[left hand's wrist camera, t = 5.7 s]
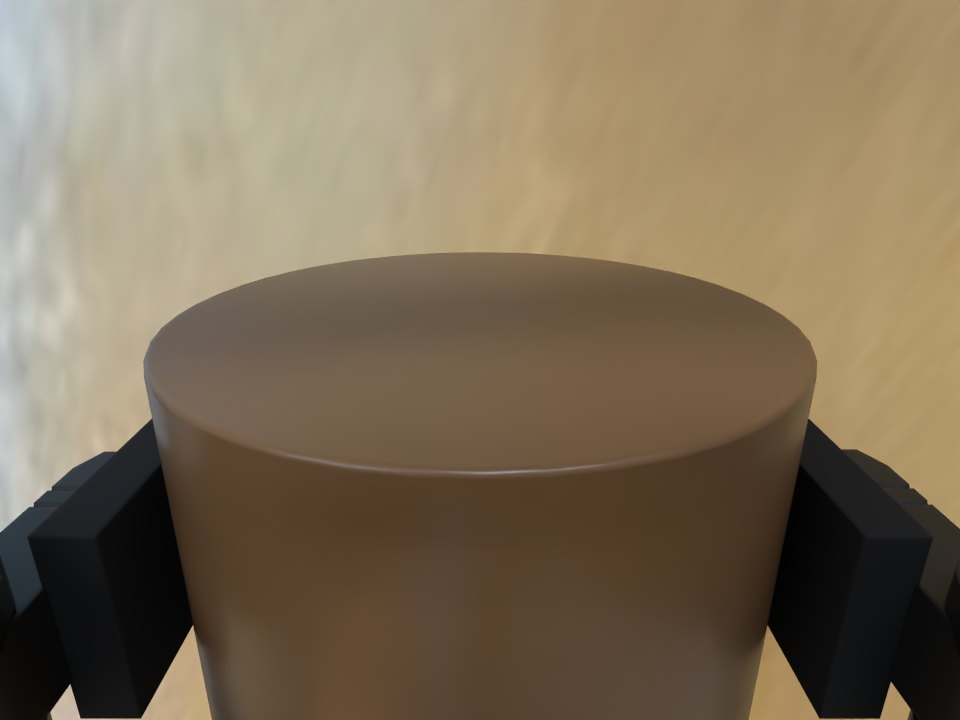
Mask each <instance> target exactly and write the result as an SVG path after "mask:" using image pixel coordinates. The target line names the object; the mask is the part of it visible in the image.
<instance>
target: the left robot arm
mask: <svg viewBox="0 0 960 720" xmlns="http://www.w3.org/2000/svg"><path fill="white" fill-rule="evenodd" d="M192 625H193V621H192V616H191V611H190V606H189V601H188V596H187V591H186V586H185V581H184V576H183V571H182V566H181V560H180V555H179V550H178V545H177V540H176V535H175V530H174V525H173V520H172V515H171V510H170V505H169V500H168V495H167V490H166V485H165V480H164V475H163V470H162V465H161V460H160V455H159V450H158V444H157V439H156V434H155V429H154V424H153V419H151V420H150V421H149V422H148V423H147V424H146V425H145V426H144V427H143V428H142V429H141V430H139V431H138V432H137V433H136V434H135V435H134V436H133V437H132V438H131V439H130V440H129V441H128V442H127V443H126V444H125V445H124V446H123V447H122V448H120V449H119V450H118V451H117V452H103V453H101V454H99V455H97V456H95V457H93V458H92V459H90V460H88V461H86V462H84V463H82V464H80V465H78V466H76V467H74V468H73V469H72V470H71V471H69V472H68V473H67V474H66V475H65V476H64V477H63V478H62V479H60V480H59V481H58V482H57V483H56V484H55V485H54V486H53V487H52V491H47V492H46V493H45V494H43V495H42V496H41V497H40V498H39V499H38V500H37V501H36V502H34V507H29V508H28V509H27V510H25V511H24V512H23V513H22V514H21V515H20V516H19V517H18V518H16V519H15V520H14V521H13V522H12V523H11V524H10V525H9V526H7V527H6V528H5V529H4V530H3V531H2V532H1V533H0V720H52V717H51V713H50V712H51V710H52V709H53V707H54V706H55V705H56V703H57V702H58V700H59V699H60V698H61V696H62V695H63V693H64V692H65V690H66V689H67V688H68V686H69V685H70V684H71V687H72V691H73V694H74V697H75V701H76V704H77V708H78V711H79V714H80V718H141V717H142V716H143V714H144V712H145V710H146V708H147V707H148V705H149V703H150V701H151V699H152V698H153V696H154V694H155V692H156V690H157V689H158V687H159V685H160V683H161V681H162V680H163V678H164V676H165V674H166V672H167V671H168V669H169V667H170V665H171V663H172V662H173V660H174V658H175V656H176V654H177V653H178V651H179V649H180V647H181V645H182V644H183V642H184V640H185V638H186V636H187V634H188V633H189V631H190V629H191V627H192ZM767 625H768V626H769V628H770V630H771V632H772V634H773V635H774V637H775V639H776V641H777V643H778V644H779V646H780V648H781V650H782V652H783V654H784V655H785V657H786V659H787V661H788V663H789V664H790V666H791V668H792V670H793V672H794V673H795V675H796V677H797V679H798V681H799V682H800V684H801V686H802V688H803V690H804V691H805V693H806V695H807V697H808V699H809V700H810V702H811V704H812V706H813V708H814V709H815V711H816V713H817V715H818V717H819V718H828V719H880V716H881V713H882V709H883V706H884V703H885V699H886V696H887V693H888V689H889V686H890V682H892V683H893V685H894V686H895V688H896V689H897V690H898V692H899V693H900V695H901V696H902V697H903V699H904V700H905V702H906V703H907V704H908V706H909V707H910V709H911V710H910V713H909V717H908V720H960V529H959V528H958V527H957V526H956V525H955V524H953V523H952V522H951V521H950V520H949V519H948V518H947V517H945V516H944V515H943V514H942V513H941V512H940V511H939V510H938V509H936V508H935V507H934V506H933V505H928V504H927V500H926V499H925V498H924V497H923V496H922V495H920V494H919V493H918V492H917V491H916V490H915V489H914V488H909V484H908V483H907V482H906V481H905V480H903V479H902V478H901V477H900V476H899V475H898V474H897V473H895V472H894V471H893V470H892V469H891V468H890V467H889V466H887V465H885V464H883V463H881V462H880V461H878V460H876V459H874V458H872V457H870V456H868V455H866V454H864V453H862V452H860V451H858V450H841V449H840V448H839V447H838V446H837V445H836V444H835V443H834V442H833V441H832V440H831V439H829V438H828V437H827V436H826V435H825V434H824V433H823V432H822V431H821V430H820V429H819V428H818V427H817V426H816V425H815V424H814V423H813V422H812V421H810V420H809V419H808V422H807V427H806V432H805V437H804V442H803V447H802V453H801V458H800V463H799V468H798V473H797V478H796V483H795V488H794V493H793V498H792V503H791V508H790V513H789V518H788V523H787V528H786V533H785V538H784V543H783V548H782V553H781V558H780V563H779V568H778V573H777V579H776V584H775V589H774V594H773V599H772V604H771V609H770V614H769V619H768V624H767Z"/></svg>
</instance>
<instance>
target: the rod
mask: <svg viewBox="0 0 960 720" xmlns="http://www.w3.org/2000/svg"><path fill="white" fill-rule="evenodd" d="M816 373H817V360H816V356H815V354H814V351H813V349H812V346H811V343H810V341H809V340H808V339H807V338H806V336H805V335H804V334H803V333H802V331H801V330H800V329H799V328H798V327H797V326H796V325H794V324H793V323H792V322H791V321H789V320H788V319H787V318H786V317H784V316H783V315H782V314H780V313H778V312H776V311H775V310H773V309H771V308H770V307H768V306H766V305H765V304H763V303H760V302H758V301H756V300H754V299H752V298H750V297H747V296H745V295H743V294H741V293H738V292H735V291H732V290H730V289H727V288H724V287H722V286H719V285H716V284H713V283H709V282H706V281H703V280H699V279H696V278H693V277H689V276H685V275H681V274H677V273H672V272H668V271H663V270H659V269H654V268H649V267H644V266H638V265H632V264H626V263H620V262H613V261H605V260H597V259H590V258H579V257H569V256H558V255H543V254H524V253H482V252H478V253H437V254H418V255H403V256H391V257H381V258H371V259H363V260H356V261H348V262H341V263H335V264H329V265H323V266H317V267H312V268H307V269H302V270H297V271H292V272H288V273H284V274H280V275H276V276H272V277H268V278H264V279H261V280H258V281H255V282H251V283H248V284H245V285H242V286H239V287H236V288H233V289H231V290H228V291H225V292H223V293H220V294H218V295H215V296H213V297H211V298H209V299H207V300H205V301H202V302H200V303H198V304H196V305H194V306H193V307H191V308H189V309H187V310H186V311H184V312H182V313H181V314H179V315H177V316H176V317H175V318H174V319H172V320H171V321H170V322H169V323H167V324H166V325H165V326H164V327H163V328H161V330H160V331H159V332H158V333H157V335H156V336H155V337H154V338H153V340H152V341H151V342H150V345H149V348H148V350H147V353H146V355H145V358H144V379H145V384H146V389H147V394H148V399H149V404H150V409H151V414H152V419H153V424H154V429H155V434H156V439H157V444H158V450H159V455H160V460H161V465H162V470H163V475H164V480H165V485H166V490H167V495H168V500H169V505H170V510H171V515H172V520H173V525H174V530H175V535H176V540H177V545H178V550H179V555H180V560H181V566H182V571H183V576H184V581H185V586H186V591H187V596H188V601H189V606H190V611H191V616H192V621H193V626H194V631H195V636H196V641H197V646H198V651H199V656H200V661H201V666H202V671H203V676H204V682H205V687H206V692H207V697H208V702H209V707H210V712H211V717H212V720H749V715H750V710H751V705H752V700H753V694H754V689H755V684H756V679H757V674H758V669H759V664H760V659H761V654H762V649H763V644H764V639H765V634H766V629H767V624H768V619H769V614H770V609H771V604H772V599H773V594H774V589H775V584H776V579H777V573H778V568H779V563H780V558H781V553H782V548H783V543H784V538H785V533H786V528H787V523H788V518H789V513H790V508H791V503H792V498H793V493H794V488H795V483H796V478H797V473H798V468H799V463H800V458H801V453H802V447H803V442H804V437H805V432H806V427H807V422H808V417H809V412H810V407H811V402H812V397H813V392H814V387H815V382H816Z"/></svg>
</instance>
